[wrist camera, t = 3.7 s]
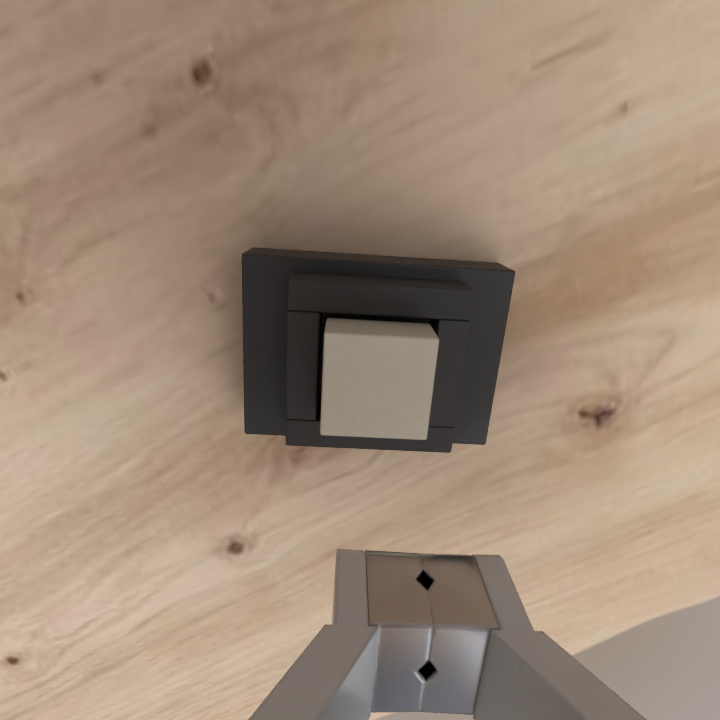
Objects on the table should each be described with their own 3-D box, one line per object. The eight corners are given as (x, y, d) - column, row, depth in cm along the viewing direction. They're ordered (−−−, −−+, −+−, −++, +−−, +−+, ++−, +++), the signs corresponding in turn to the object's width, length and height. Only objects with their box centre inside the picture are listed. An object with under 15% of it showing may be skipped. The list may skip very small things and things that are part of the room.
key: (322, 411, 20) (319, 436, 18) (326, 317, 18) (324, 332, 16) (419, 416, 20) (426, 440, 18) (430, 322, 18) (439, 338, 16)
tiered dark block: (253, 413, 24) (235, 455, 20) (251, 247, 21) (230, 259, 17) (473, 423, 24) (497, 467, 20) (499, 263, 21) (532, 278, 18)
